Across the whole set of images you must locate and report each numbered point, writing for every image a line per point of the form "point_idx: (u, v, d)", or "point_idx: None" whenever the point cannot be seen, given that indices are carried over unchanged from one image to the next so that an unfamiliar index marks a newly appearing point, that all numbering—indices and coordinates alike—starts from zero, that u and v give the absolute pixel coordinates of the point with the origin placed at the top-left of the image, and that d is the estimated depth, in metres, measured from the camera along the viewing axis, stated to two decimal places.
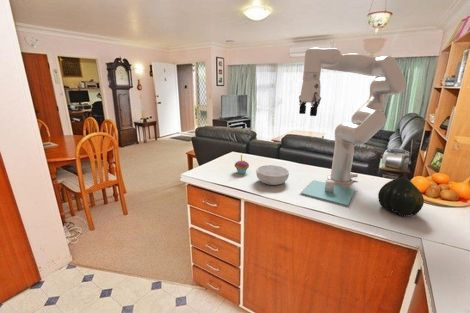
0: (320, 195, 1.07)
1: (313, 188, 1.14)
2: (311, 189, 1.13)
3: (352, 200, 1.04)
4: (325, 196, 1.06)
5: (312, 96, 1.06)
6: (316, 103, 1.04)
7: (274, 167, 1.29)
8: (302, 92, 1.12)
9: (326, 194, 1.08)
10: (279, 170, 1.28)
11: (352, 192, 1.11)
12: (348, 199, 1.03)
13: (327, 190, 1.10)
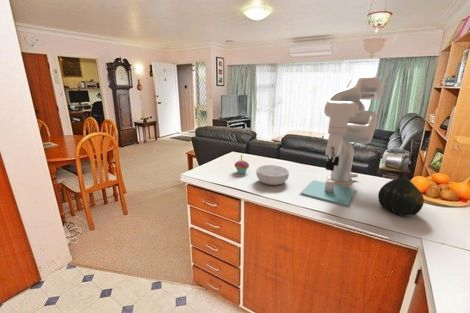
0: (320, 195, 1.07)
1: (313, 188, 1.14)
2: (311, 189, 1.13)
3: (352, 200, 1.04)
4: (325, 196, 1.06)
5: None
6: None
7: (274, 167, 1.29)
8: (339, 147, 1.02)
9: (326, 194, 1.08)
10: (279, 170, 1.28)
11: (352, 192, 1.11)
12: (348, 199, 1.03)
13: (327, 190, 1.10)
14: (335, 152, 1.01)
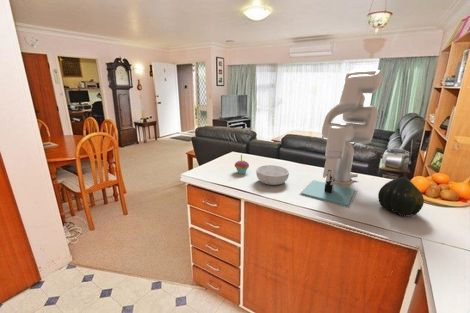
0: (320, 195, 1.07)
1: (313, 188, 1.14)
2: (311, 189, 1.13)
3: (352, 200, 1.04)
4: (325, 196, 1.06)
5: None
6: None
7: (274, 167, 1.29)
8: (336, 170, 1.05)
9: (326, 194, 1.08)
10: (279, 170, 1.28)
11: (352, 192, 1.11)
12: (348, 199, 1.03)
13: None
14: (332, 175, 1.04)
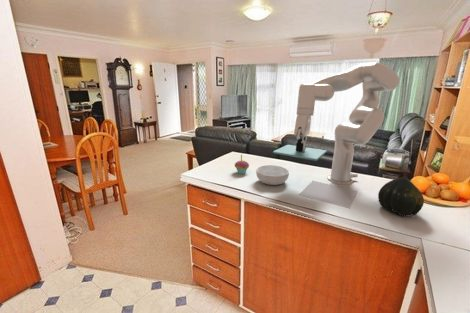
0: (291, 153, 1.08)
1: (285, 149, 1.15)
2: (283, 149, 1.14)
3: (352, 200, 1.04)
4: (296, 153, 1.07)
5: None
6: None
7: (274, 167, 1.29)
8: (306, 127, 1.06)
9: (297, 152, 1.09)
10: (279, 170, 1.28)
11: (323, 152, 1.12)
12: (318, 156, 1.05)
13: None
14: (302, 132, 1.05)
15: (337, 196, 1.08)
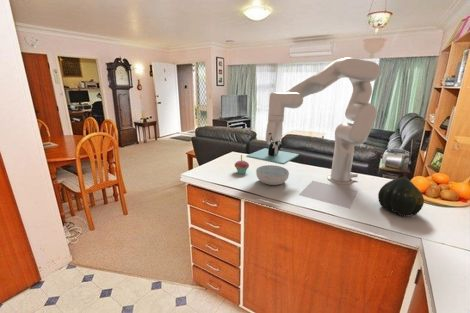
0: (263, 157, 1.15)
1: (260, 153, 1.22)
2: (257, 153, 1.21)
3: (352, 200, 1.04)
4: (267, 157, 1.14)
5: None
6: None
7: (274, 167, 1.29)
8: (276, 133, 1.13)
9: (268, 156, 1.16)
10: (279, 170, 1.28)
11: (294, 155, 1.19)
12: (287, 159, 1.12)
13: None
14: (272, 137, 1.12)
15: (337, 196, 1.08)
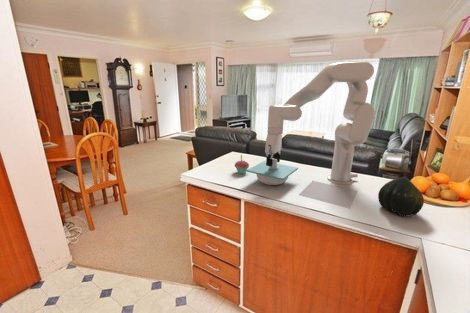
0: (262, 171, 1.17)
1: (259, 166, 1.25)
2: (257, 167, 1.23)
3: (352, 200, 1.04)
4: (266, 172, 1.16)
5: None
6: (280, 150, 1.25)
7: None
8: (276, 145, 1.15)
9: (268, 171, 1.18)
10: None
11: (293, 169, 1.21)
12: (286, 174, 1.14)
13: (270, 167, 1.20)
14: (272, 149, 1.14)
15: (337, 196, 1.08)
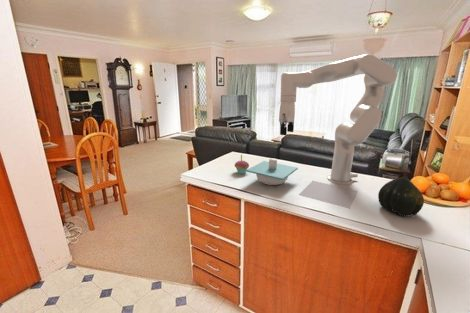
0: (262, 171, 1.17)
1: (259, 166, 1.24)
2: (257, 167, 1.23)
3: (352, 200, 1.04)
4: (266, 172, 1.16)
5: None
6: (293, 120, 1.24)
7: None
8: (290, 113, 1.14)
9: (268, 171, 1.18)
10: None
11: (293, 169, 1.21)
12: (286, 174, 1.14)
13: (270, 167, 1.20)
14: (286, 118, 1.13)
15: (337, 196, 1.08)
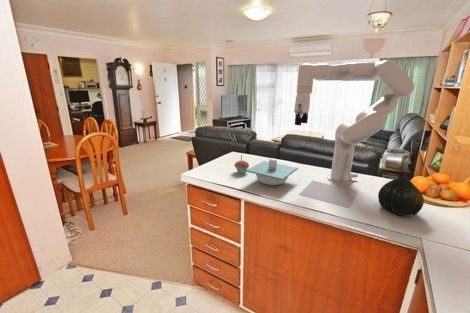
0: (262, 171, 1.17)
1: (259, 166, 1.24)
2: (257, 167, 1.23)
3: (352, 200, 1.04)
4: (266, 172, 1.16)
5: None
6: None
7: None
8: (305, 104, 1.17)
9: (268, 171, 1.18)
10: None
11: (293, 169, 1.21)
12: (285, 174, 1.13)
13: (270, 168, 1.20)
14: (302, 108, 1.16)
15: (337, 196, 1.08)
